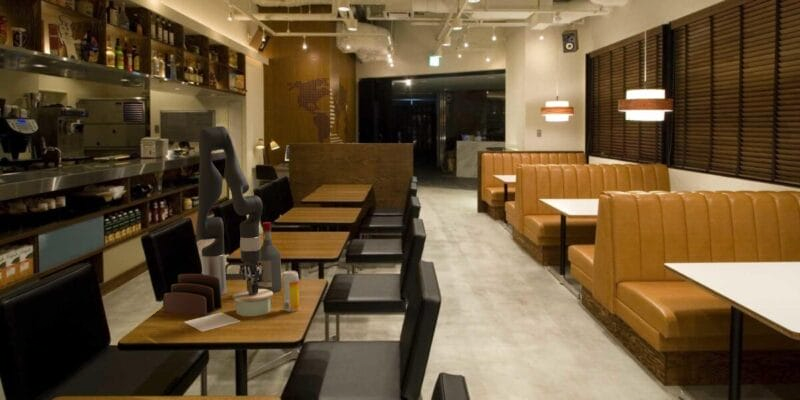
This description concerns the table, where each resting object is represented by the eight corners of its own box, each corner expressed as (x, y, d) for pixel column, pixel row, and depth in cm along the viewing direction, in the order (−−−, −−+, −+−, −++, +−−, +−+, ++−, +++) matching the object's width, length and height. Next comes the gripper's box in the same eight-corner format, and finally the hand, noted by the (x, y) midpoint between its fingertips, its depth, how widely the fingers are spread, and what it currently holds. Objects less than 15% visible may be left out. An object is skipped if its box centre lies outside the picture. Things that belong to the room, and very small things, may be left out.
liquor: (270, 286, 267) (267, 220, 264) (284, 289, 262) (281, 222, 258) (254, 291, 260) (251, 223, 256) (269, 294, 255) (265, 225, 251)
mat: (183, 323, 219) (183, 321, 219) (221, 314, 229) (221, 312, 229) (202, 333, 208) (202, 331, 208) (241, 322, 218) (241, 321, 218)
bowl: (231, 312, 230) (231, 297, 230) (259, 305, 239) (258, 291, 238) (247, 319, 222) (246, 304, 221) (276, 312, 230) (275, 297, 229)
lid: (225, 297, 230) (224, 281, 229) (260, 289, 240) (259, 274, 239) (245, 304, 219) (244, 289, 218) (280, 296, 229) (279, 281, 228)
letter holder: (181, 305, 241) (178, 271, 240) (222, 310, 235) (220, 275, 233) (163, 313, 232) (161, 278, 230) (206, 317, 225) (204, 281, 224)
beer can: (302, 308, 234) (300, 270, 232) (294, 312, 229) (293, 274, 227) (288, 306, 236) (287, 270, 234) (281, 311, 231) (279, 273, 229)
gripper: (232, 247, 229) (234, 290, 232) (251, 252, 219) (253, 297, 221) (250, 244, 235) (252, 286, 237) (268, 249, 224) (271, 293, 227)
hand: (252, 292), depth 229 cm, fingers closed on lid, 3 cm apart
